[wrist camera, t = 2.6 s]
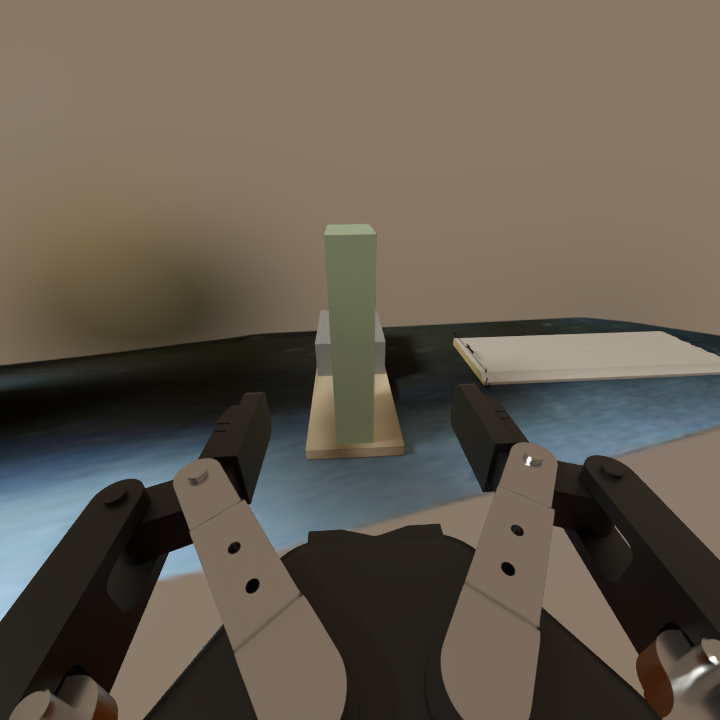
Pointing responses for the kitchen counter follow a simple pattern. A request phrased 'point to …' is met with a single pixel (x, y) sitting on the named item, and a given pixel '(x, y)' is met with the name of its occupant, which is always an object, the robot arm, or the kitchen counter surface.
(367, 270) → the slat
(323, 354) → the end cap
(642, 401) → the kitchen counter surface
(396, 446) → the board
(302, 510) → the kitchen counter surface
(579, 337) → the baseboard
